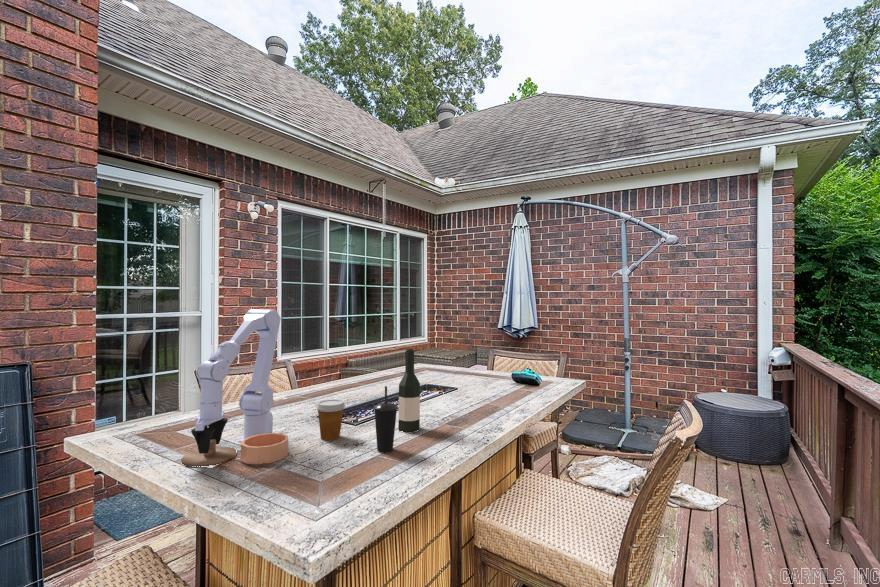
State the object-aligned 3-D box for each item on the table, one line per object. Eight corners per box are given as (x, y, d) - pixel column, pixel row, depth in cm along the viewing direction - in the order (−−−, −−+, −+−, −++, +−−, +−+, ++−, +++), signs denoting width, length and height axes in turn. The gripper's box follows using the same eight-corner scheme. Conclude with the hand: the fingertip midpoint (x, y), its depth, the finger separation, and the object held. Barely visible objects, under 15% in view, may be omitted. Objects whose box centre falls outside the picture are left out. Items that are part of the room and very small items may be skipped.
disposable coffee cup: (315, 443, 131) (316, 406, 131) (316, 434, 140) (317, 400, 140) (344, 440, 133) (345, 404, 134) (343, 432, 142) (344, 398, 143)
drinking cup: (392, 455, 120) (393, 389, 121) (369, 453, 122) (370, 388, 122) (400, 446, 128) (401, 384, 128) (377, 445, 129) (378, 383, 130)
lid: (205, 448, 124) (205, 432, 124) (246, 450, 122) (246, 434, 123) (169, 465, 110) (169, 447, 110) (214, 468, 108) (215, 450, 109)
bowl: (257, 448, 125) (258, 432, 126) (295, 450, 124) (295, 434, 124) (231, 463, 113) (231, 446, 113) (273, 466, 111) (273, 448, 111)
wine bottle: (394, 427, 148) (395, 347, 149) (415, 425, 152) (416, 346, 153) (402, 434, 141) (403, 349, 142) (423, 431, 144) (424, 348, 145)
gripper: (208, 396, 124) (206, 440, 123) (184, 408, 109) (182, 458, 109) (231, 396, 125) (230, 440, 124) (211, 407, 110) (209, 457, 110)
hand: (209, 448), depth 116 cm, fingers open, 7 cm apart
